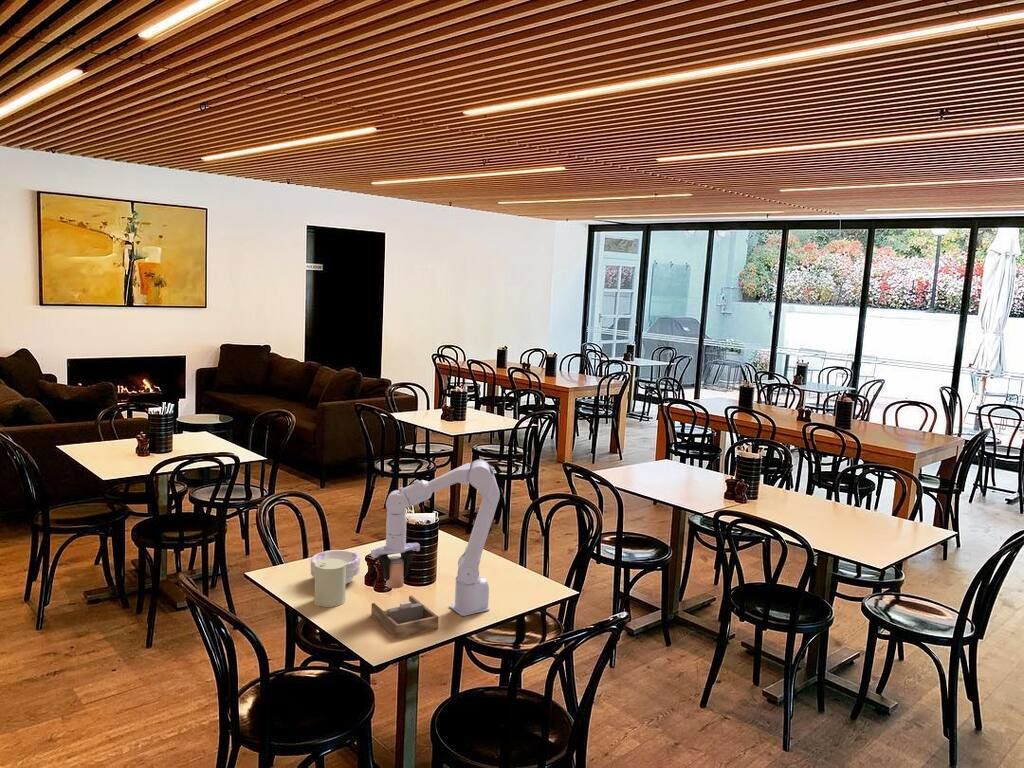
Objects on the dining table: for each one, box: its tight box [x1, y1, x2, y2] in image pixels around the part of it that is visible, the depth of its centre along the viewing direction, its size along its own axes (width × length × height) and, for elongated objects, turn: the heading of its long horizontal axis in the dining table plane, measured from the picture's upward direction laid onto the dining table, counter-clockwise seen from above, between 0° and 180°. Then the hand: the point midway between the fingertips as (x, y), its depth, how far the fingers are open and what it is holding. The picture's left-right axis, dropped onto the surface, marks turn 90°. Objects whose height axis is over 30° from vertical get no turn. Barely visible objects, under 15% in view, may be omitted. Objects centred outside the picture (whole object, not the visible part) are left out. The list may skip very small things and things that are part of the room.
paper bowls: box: [310, 549, 361, 585], centre depth 254 cm, size 15×15×8 cm
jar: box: [385, 555, 405, 589], centre depth 235 cm, size 5×5×8 cm
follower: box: [386, 600, 425, 624], centre depth 226 cm, size 10×2×5 cm, turn 123°
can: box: [313, 558, 347, 608], centre depth 238 cm, size 9×9×12 cm
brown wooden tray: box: [370, 595, 440, 639], centre depth 226 cm, size 13×17×4 cm
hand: (395, 577), depth 235 cm, fingers closed on jar, 5 cm apart
